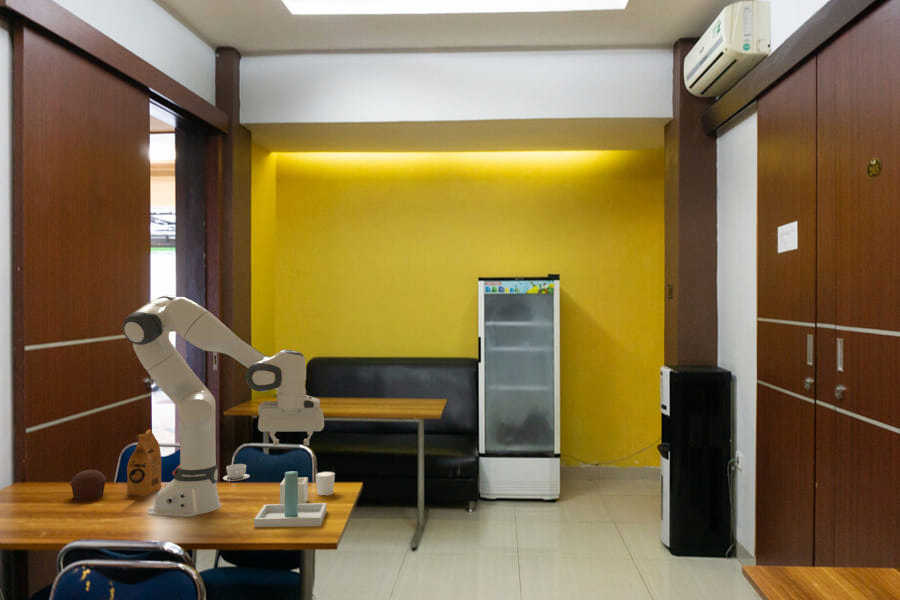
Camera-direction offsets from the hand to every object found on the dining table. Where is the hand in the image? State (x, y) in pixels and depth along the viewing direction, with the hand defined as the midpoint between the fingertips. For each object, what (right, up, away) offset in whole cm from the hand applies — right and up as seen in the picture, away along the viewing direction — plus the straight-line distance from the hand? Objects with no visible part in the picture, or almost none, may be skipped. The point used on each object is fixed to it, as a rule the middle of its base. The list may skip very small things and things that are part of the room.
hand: (291, 445), depth 201 cm
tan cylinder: (+5, -24, +28) cm, 38 cm away
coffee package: (-60, -24, +29) cm, 71 cm away
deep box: (-3, -24, +16) cm, 29 cm away
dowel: (0, -23, 0) cm, 23 cm away
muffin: (-76, -24, +22) cm, 83 cm away
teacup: (-34, -24, +49) cm, 64 cm away
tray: (0, -24, 0) cm, 24 cm away
